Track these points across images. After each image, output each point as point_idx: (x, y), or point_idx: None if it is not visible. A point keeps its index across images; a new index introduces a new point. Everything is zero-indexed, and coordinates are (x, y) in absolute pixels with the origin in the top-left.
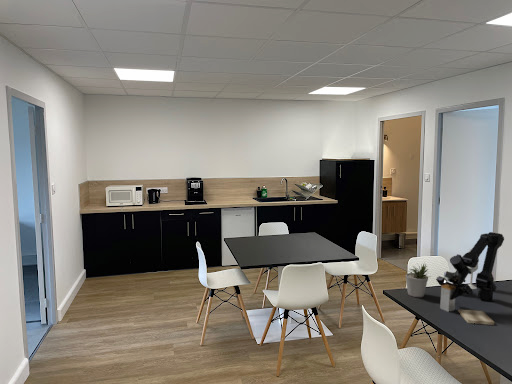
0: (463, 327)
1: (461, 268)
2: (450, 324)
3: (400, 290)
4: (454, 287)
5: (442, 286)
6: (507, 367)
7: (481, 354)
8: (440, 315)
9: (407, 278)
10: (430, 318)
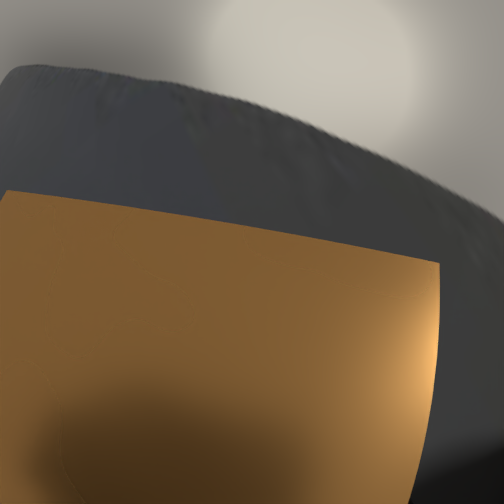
0: (61, 161)
1: None
2: (122, 139)
3: None
4: None
5: (362, 274)
6: (5, 76)
7: (39, 68)
8: (219, 214)
9: None
10: (248, 124)
